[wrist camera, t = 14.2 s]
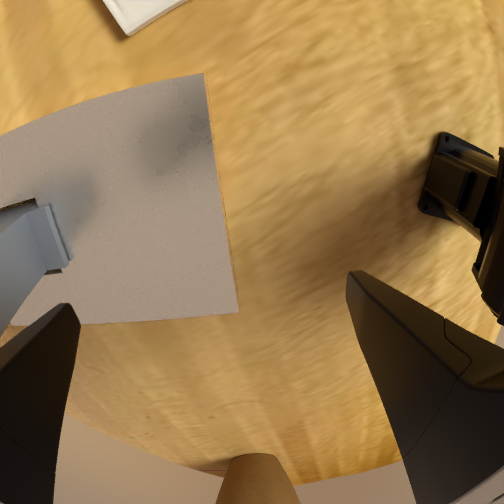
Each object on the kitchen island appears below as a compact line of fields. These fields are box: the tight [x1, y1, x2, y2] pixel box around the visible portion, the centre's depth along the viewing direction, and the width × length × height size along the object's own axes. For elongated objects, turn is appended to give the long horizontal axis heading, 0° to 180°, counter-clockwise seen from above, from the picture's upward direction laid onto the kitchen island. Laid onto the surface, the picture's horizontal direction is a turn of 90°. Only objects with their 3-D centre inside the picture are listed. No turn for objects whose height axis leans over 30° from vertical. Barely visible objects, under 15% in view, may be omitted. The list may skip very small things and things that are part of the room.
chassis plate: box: [0, 73, 239, 326], centre depth 19 cm, size 22×16×2 cm
